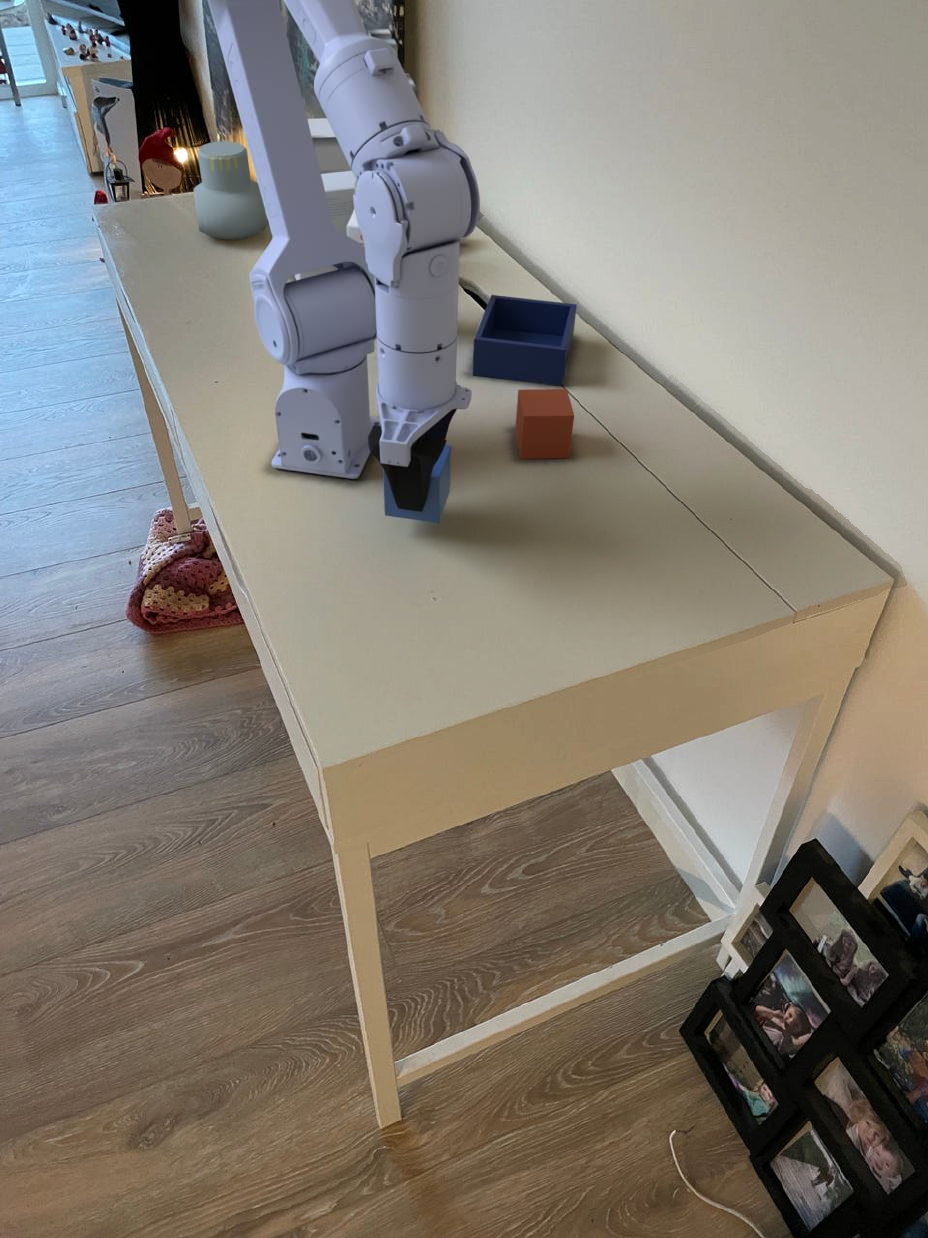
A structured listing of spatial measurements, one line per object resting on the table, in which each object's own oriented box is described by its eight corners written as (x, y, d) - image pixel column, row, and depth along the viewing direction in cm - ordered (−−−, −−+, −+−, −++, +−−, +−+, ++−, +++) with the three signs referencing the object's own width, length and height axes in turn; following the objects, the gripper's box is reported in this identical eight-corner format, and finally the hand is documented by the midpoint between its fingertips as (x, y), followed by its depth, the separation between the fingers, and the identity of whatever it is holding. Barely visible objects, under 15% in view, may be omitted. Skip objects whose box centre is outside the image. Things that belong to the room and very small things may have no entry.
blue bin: (561, 386, 95) (565, 349, 92) (472, 375, 96) (473, 339, 93) (572, 338, 102) (577, 303, 100) (489, 329, 103) (491, 294, 101)
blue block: (439, 523, 75) (439, 477, 72) (384, 515, 76) (382, 469, 73) (450, 490, 78) (451, 445, 75) (397, 483, 79) (396, 437, 76)
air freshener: (270, 246, 117) (260, 162, 110) (202, 251, 116) (187, 165, 109) (263, 213, 125) (253, 132, 118) (199, 217, 123) (185, 135, 116)
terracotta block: (569, 457, 86) (574, 415, 83) (520, 458, 86) (523, 415, 83) (562, 430, 89) (567, 388, 86) (515, 431, 89) (518, 389, 86)
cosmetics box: (371, 255, 116) (367, 166, 109) (386, 277, 112) (383, 185, 105) (287, 265, 114) (277, 174, 106) (299, 288, 109) (290, 195, 102)
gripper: (451, 393, 61) (447, 553, 71) (490, 295, 71) (482, 446, 81) (346, 379, 62) (356, 539, 71) (399, 284, 72) (402, 435, 82)
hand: (417, 489), depth 76 cm, fingers closed on blue block, 4 cm apart
